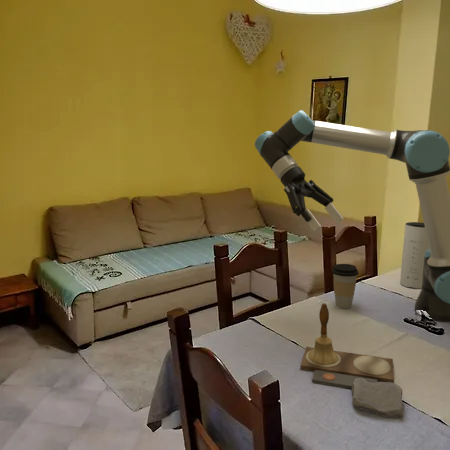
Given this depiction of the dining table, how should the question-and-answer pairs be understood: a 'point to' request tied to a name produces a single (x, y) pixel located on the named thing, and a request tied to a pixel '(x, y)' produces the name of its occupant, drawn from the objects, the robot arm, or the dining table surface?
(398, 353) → the dining table surface
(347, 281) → the coffee cup
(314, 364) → the board
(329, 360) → the hand bell
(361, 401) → the stone block
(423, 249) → the white tall cylinder
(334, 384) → the pattern card
